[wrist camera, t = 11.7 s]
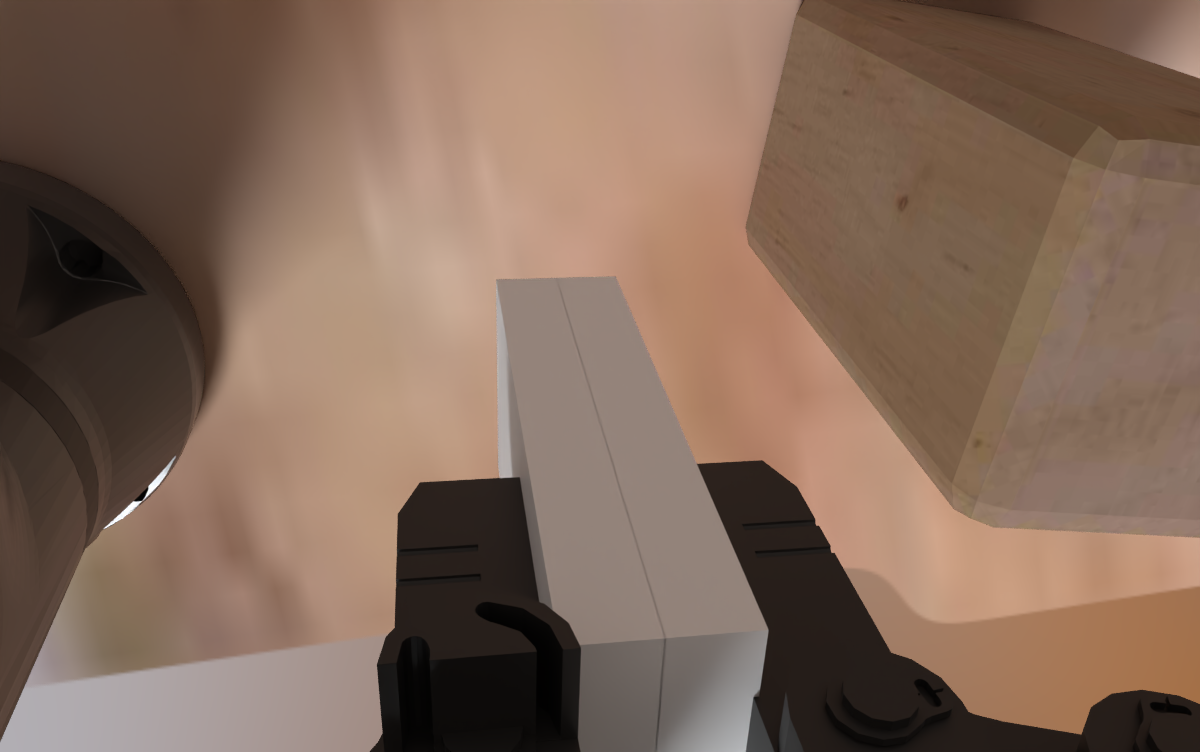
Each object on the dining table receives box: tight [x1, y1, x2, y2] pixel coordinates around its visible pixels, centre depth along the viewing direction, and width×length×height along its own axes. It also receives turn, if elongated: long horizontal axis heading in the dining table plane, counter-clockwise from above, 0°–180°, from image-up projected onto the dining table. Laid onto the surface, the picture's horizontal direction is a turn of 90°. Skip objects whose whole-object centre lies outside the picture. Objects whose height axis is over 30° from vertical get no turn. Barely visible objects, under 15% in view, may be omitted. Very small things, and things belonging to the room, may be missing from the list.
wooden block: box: [746, 0, 1200, 538], centre depth 32 cm, size 10×10×20 cm
